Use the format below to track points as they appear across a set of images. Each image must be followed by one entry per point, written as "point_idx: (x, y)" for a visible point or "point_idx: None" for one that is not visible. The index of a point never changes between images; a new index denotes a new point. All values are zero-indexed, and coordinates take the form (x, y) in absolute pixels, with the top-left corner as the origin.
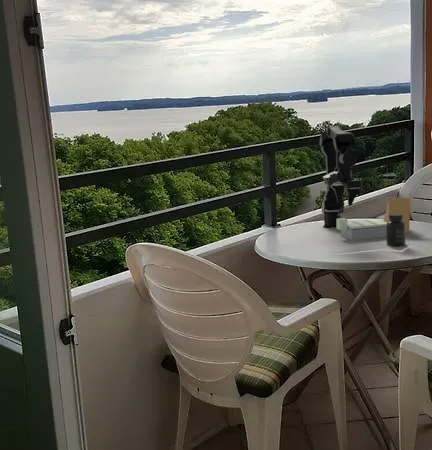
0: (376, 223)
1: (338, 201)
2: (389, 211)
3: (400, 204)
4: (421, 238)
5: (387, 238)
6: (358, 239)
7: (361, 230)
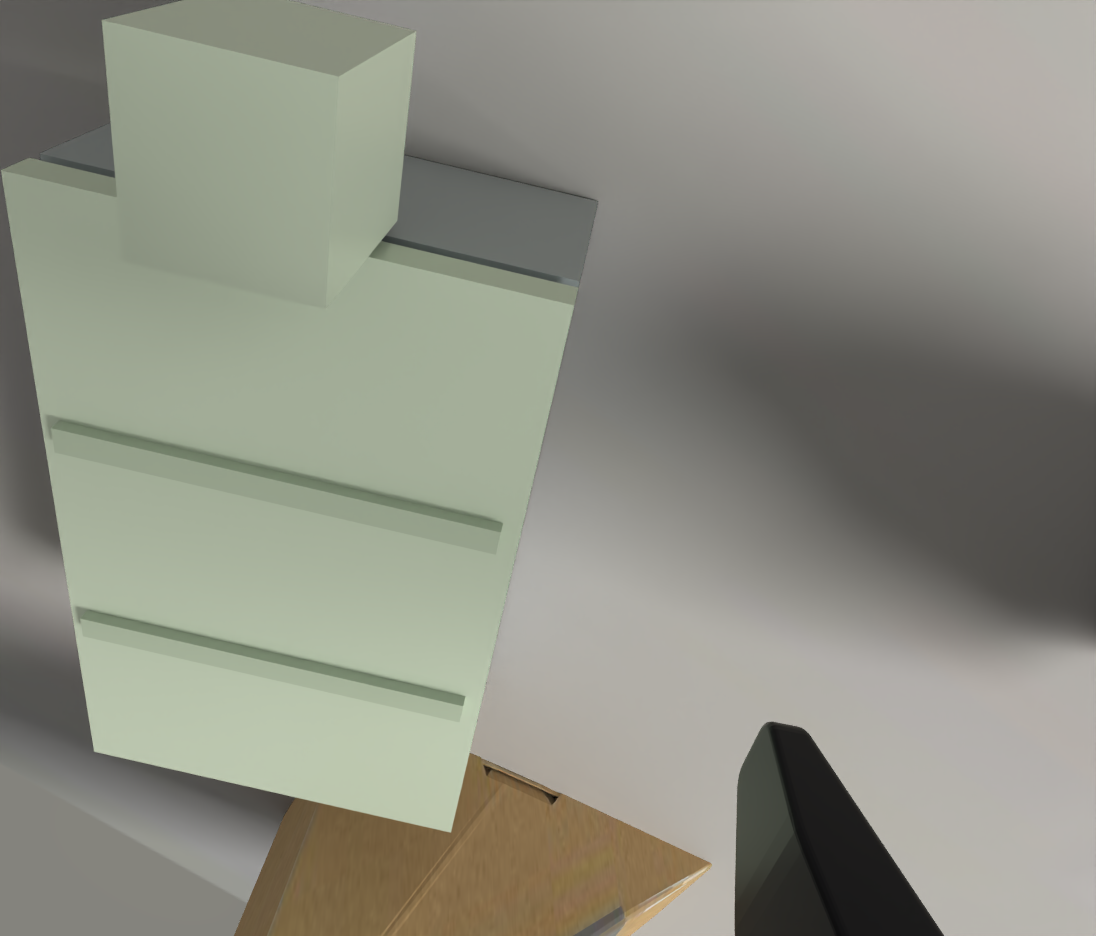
0: (95, 636)
1: (775, 763)
2: None
3: None
4: (51, 757)
5: None
6: None
7: None
